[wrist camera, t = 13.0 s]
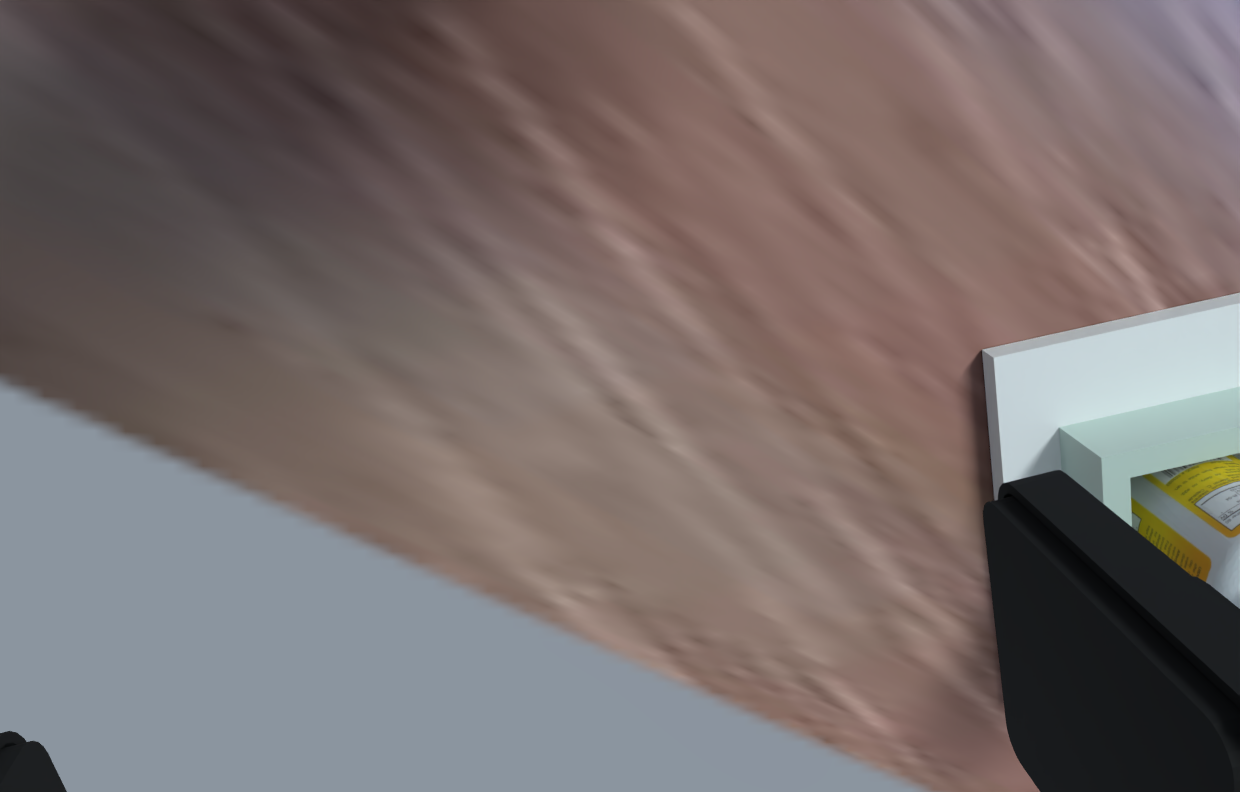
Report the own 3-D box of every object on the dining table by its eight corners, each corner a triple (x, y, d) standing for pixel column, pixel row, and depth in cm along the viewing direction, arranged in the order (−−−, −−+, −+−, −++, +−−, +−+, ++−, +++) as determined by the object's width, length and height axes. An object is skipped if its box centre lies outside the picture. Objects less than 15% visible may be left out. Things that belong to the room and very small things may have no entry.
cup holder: (981, 349, 41) (1032, 383, 37) (1320, 275, 41) (1403, 301, 38) (1010, 691, 46) (1056, 752, 42) (1310, 620, 46) (1383, 674, 43)
